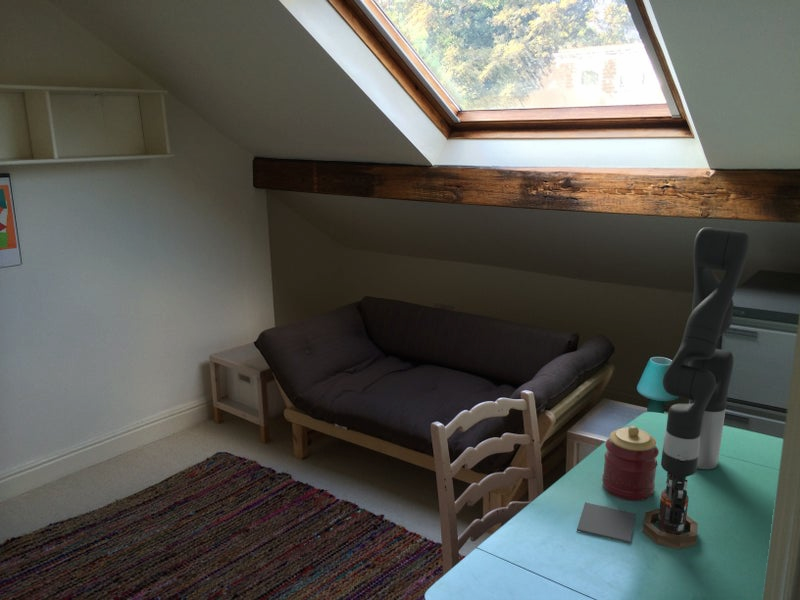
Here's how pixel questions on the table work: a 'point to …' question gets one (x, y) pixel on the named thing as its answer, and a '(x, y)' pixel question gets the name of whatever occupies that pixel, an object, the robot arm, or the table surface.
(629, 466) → the canister
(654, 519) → the collar
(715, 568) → the table surface
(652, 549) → the table surface
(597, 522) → the coaster
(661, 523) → the supplement bottle
